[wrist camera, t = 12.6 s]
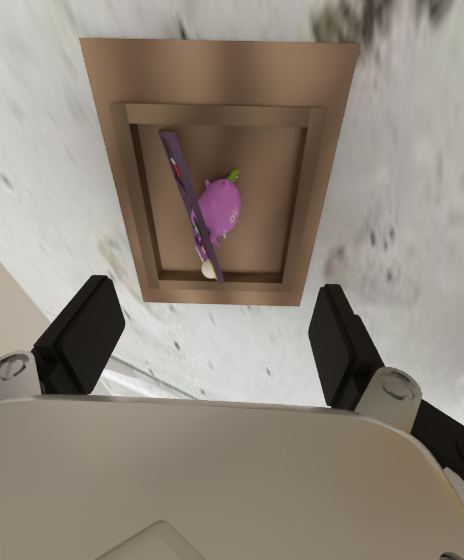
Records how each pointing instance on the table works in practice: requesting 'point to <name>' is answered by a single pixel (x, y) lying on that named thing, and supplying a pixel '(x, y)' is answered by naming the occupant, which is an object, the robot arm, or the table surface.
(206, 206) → the purple figure with panel
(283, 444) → the robot arm
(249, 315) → the table surface
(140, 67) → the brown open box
